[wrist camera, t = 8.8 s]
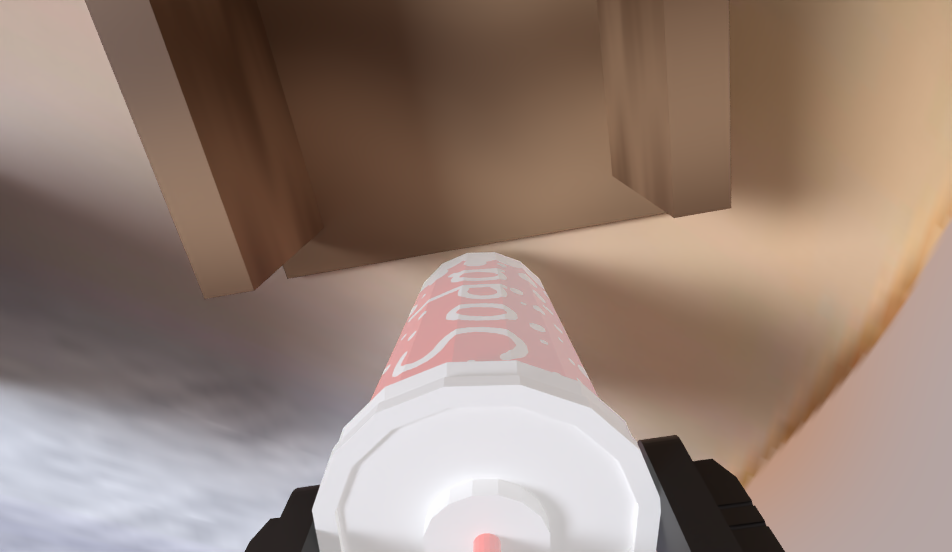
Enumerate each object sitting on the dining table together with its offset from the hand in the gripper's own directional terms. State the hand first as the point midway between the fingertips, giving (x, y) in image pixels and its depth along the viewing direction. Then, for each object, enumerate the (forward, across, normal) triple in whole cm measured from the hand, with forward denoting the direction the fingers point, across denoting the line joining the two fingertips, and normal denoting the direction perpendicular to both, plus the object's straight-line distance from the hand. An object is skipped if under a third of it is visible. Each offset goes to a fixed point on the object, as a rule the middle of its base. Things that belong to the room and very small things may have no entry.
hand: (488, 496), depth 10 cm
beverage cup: (+8, 0, 0) cm, 8 cm away
